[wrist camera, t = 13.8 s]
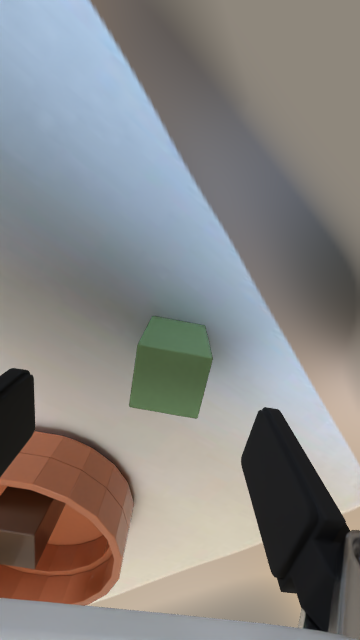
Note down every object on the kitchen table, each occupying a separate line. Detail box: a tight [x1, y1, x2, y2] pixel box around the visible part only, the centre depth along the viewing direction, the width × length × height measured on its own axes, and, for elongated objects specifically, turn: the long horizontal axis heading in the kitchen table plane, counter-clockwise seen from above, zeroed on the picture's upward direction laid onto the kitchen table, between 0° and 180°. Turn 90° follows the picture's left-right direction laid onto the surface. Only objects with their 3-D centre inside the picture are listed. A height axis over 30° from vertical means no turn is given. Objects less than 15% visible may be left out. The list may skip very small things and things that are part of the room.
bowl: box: [0, 431, 134, 606], centre depth 21 cm, size 17×17×5 cm
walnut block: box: [0, 486, 66, 569], centre depth 19 cm, size 4×4×6 cm
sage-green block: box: [129, 316, 213, 418], centre depth 15 cm, size 4×4×6 cm
